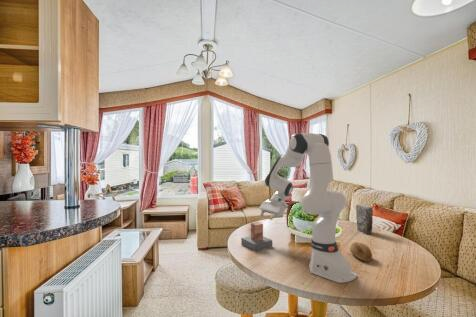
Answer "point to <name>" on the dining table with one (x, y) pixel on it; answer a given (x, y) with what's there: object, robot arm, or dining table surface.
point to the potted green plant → (290, 209)
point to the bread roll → (361, 251)
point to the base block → (256, 243)
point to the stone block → (364, 218)
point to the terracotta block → (256, 231)
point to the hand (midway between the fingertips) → (265, 217)
